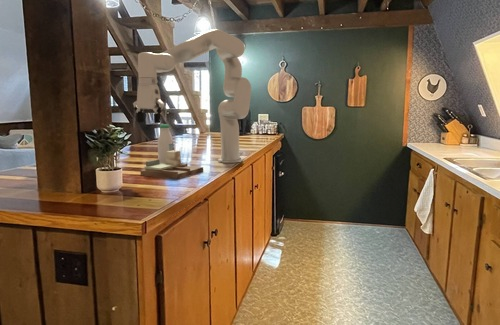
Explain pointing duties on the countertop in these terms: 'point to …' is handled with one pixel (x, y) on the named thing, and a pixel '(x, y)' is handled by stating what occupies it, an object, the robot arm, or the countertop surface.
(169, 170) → the board
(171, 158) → the block
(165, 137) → the milk bottle
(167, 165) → the lid
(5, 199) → the countertop surface
